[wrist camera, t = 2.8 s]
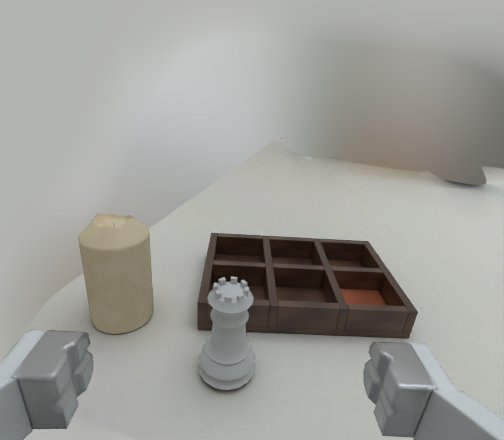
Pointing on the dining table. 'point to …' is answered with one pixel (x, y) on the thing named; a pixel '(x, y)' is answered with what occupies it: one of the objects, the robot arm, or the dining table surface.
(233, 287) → the rook chess piece
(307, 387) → the dining table surface
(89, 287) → the candle
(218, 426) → the dining table surface
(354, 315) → the grid
